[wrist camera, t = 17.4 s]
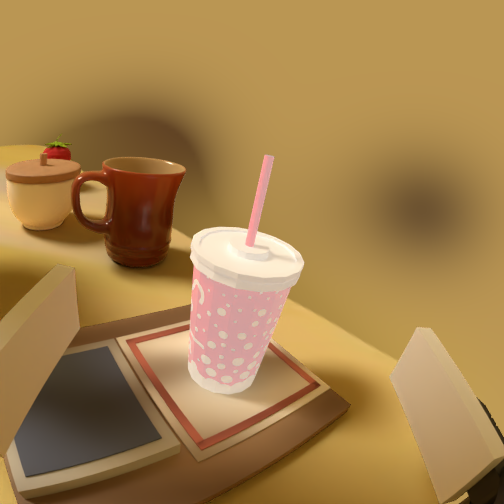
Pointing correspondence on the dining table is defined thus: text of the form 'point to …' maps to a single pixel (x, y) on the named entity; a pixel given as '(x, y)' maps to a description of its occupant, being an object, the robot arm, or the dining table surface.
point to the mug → (134, 207)
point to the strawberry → (58, 151)
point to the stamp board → (158, 420)
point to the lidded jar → (41, 191)
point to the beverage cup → (237, 298)
